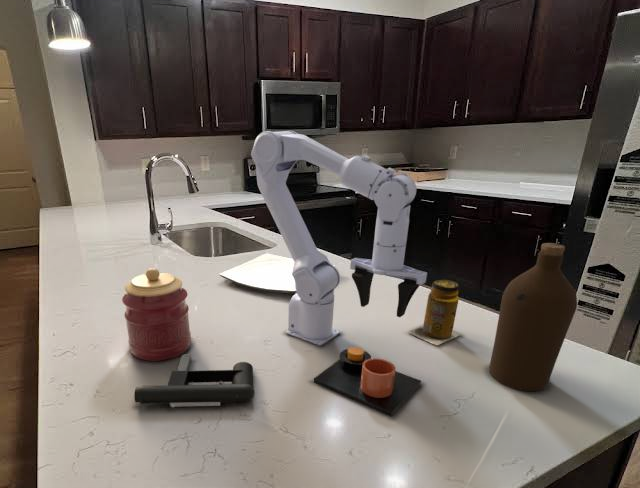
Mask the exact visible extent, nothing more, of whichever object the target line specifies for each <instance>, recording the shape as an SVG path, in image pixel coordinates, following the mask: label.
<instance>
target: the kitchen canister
mask: <svg viewBox="0 0 640 488" xmlns="http://www.w3.org/2000/svg"><path fill="white" fill-rule="evenodd" d="M182 286H183V281H182V280H181V279H180V278H179V277H176V276H174V275H173V274H171V273H167V272H160V271H159V270H158V269H157V268H156V267H149V268H148V269H147V270H146V272H145V273H144V274H140V275H138V276H135V277H134V278H132V279H131V281H129V282H127V284H126V285H125V287H124V290H125V292H126V293H125V294H123V296H122V297H121V301H122V304H123V305H124V306H125V311H124V318H125V322H126V329H127V335H128V336H127V337H128V339H127V342H128V347H129V349H130V352H131V354H132V355H133V356H134V357H136V358H137V359H140V360H144V361H149V362H150V361H151V362H153V361H155V362H157V361H159V362H160V361H165V360H166V361H167V360H170V359H173V358H177V357H178V356H182V355H183V354H184V353H185V352H187V350H189V348H190V346H191V341H192V333H191V330H190V318H189V305H188V304H187V302H186V301H187V298H188V291H187V290H186V288H184V287H182Z"/></svg>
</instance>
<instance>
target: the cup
mask: <svg viewBox="0 0 640 488" xmlns="http://www.w3.org/2000/svg"><path fill="white" fill-rule="evenodd" d="M395 371H396V366H395V364H393V363H392V362H391V361H389V360H386V359H384V358H383V359H382V358H379V357H378V358H371V359H368V360H366V361H364V362H363V365H362V374H361V384H360V385H361V386H360V387H361V390H362V391H363V392H364V393H365V394H367V395H369V396H372V397H376V398H384V397H388V396H390V395H391V394H392V391H393V384H394V377H395Z"/></svg>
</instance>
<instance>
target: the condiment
mask: <svg viewBox="0 0 640 488" xmlns="http://www.w3.org/2000/svg"><path fill="white" fill-rule="evenodd" d="M459 289H460V285H459V284H458V283H457V282H455V281H452V280H448V279H438V280H434V281H433V282H432V283H431V289H430V292H429V293H428V295H427V300H426V307H425V314H424V320H423V325H422V326H420V327H417V328H415V329H413V330H409V331H408V333H409V334H411V335H413V336H415V337H417V338H419V339H421V340H423V341H425V342H427V343H430V344H433V345H435V346H440V345H441V344H443V343H446V342H448V341H450V340H453V339H456V338H458V337H459V336H460V335H461V334H460V333H458V332H454V331H453V330H454V325H455V320H456V315H457V311H458V310H457V309H458V304H459V296H458V295H459Z"/></svg>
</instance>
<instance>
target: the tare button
mask: <svg viewBox="0 0 640 488" xmlns="http://www.w3.org/2000/svg"><path fill="white" fill-rule="evenodd" d="M347 349H348V355H347V358H348V359H350V360H352V361H361V360H363V357H364V351H365V350H364V349H363V348H362V347H358V346H352V347H349V348H347Z"/></svg>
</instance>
